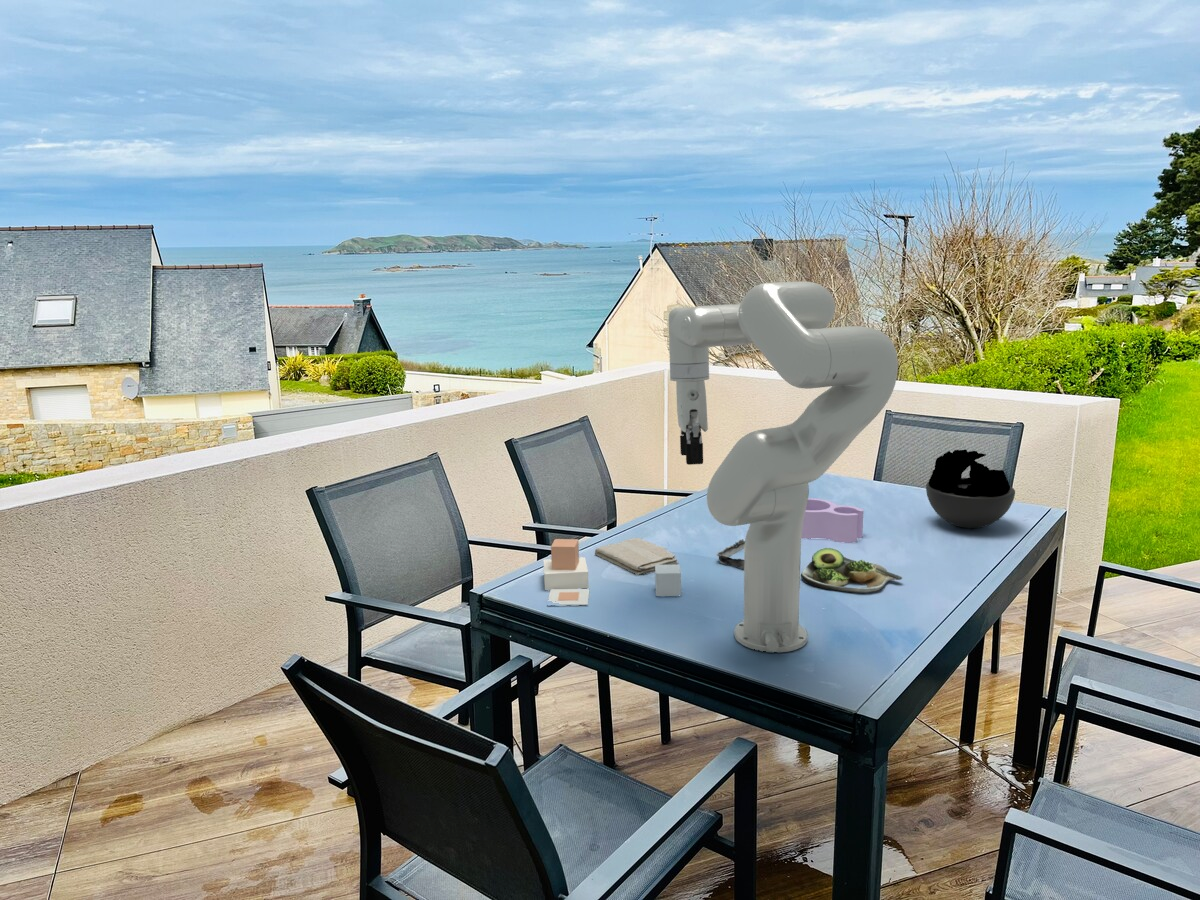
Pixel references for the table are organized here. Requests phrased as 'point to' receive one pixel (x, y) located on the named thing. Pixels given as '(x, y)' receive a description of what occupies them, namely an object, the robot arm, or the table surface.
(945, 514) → the coal bowl
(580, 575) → the base block
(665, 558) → the washcloth
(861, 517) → the pink desk organizer
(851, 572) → the salad plate
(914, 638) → the table surface
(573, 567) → the terracotta block
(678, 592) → the grey blue block
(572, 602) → the card
